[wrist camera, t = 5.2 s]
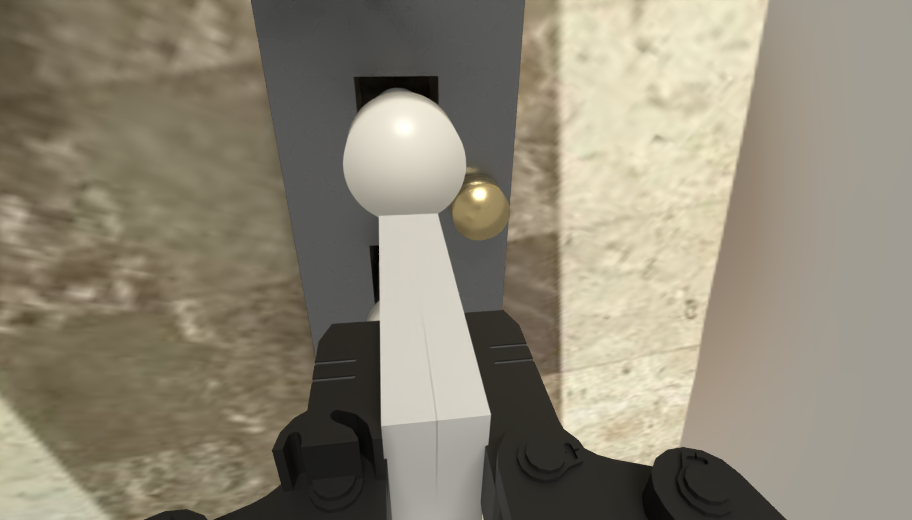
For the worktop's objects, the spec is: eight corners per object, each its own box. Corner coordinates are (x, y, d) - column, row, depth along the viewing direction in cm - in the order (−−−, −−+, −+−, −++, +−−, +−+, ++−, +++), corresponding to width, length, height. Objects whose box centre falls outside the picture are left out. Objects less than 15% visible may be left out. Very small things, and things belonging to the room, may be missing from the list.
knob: (349, 70, 22) (335, 105, 15) (441, 69, 23) (467, 103, 16) (358, 160, 24) (349, 225, 18) (441, 157, 25) (464, 220, 18)
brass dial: (448, 175, 25) (453, 188, 23) (503, 173, 25) (512, 186, 24) (448, 225, 26) (452, 242, 25) (499, 223, 27) (507, 238, 25)
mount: (270, -22, 24) (246, -25, 19) (501, -18, 25) (526, -20, 21) (338, 400, 39) (332, 452, 34) (480, 387, 40) (492, 434, 36)
